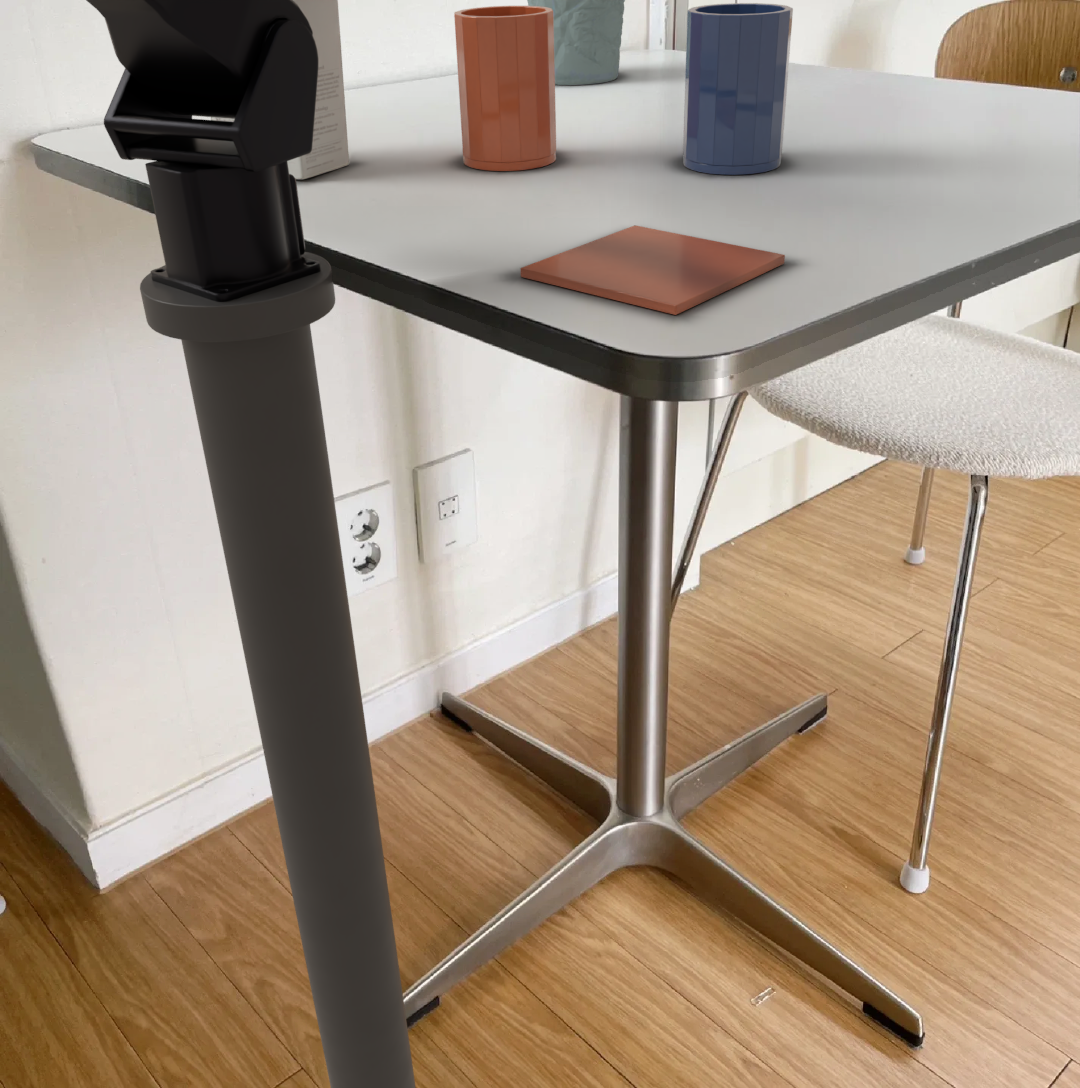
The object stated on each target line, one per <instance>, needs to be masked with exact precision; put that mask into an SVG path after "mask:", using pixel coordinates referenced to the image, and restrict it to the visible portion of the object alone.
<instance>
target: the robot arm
mask: <svg viewBox="0 0 1080 1088" xmlns="http://www.w3.org/2000/svg"><path fill="white" fill-rule="evenodd" d="M85 1H86V2H87V3H88V4H90V5H91V6H92V7H93V8H95V9H96V11H98V12H99V14H100V15H101V16H102V17H103V18H104V21H105V23H106V28H107V31H108V35H109V37H110V40H111V44H112V47H113V51H114V54H115V56H116V58H117V59H118V62H119V63H120V64H121V65H122V66H123V68H124V70H123V72H122V75H121V77H120V80H119V82H118V84H117V87H116V88H115V92H114V94H113V97H112V98H111V101H110V104H109V105H108V108H107V110H106V112H105V115H104V118H103V125H104V129H105V130H106V132H107V134H108V136H109V138H110V140H111V142H112V144H113V147H114V148H115V150H116V152H117V154H118V156H119V158H120V159H121V160H126V161H133V160H145V161H150V162H146V163H145V164H144V165H145V170H146V174H147V180H148V185H149V189H150V194H151V200H152V205H153V210H154V214H155V220H156V225H157V230H158V234H159V240H160V245H161V250H162V255H163V260H164V265H166V266H164V265H163V266H164V267H162V266H160V267H161V268H160V267H157V268H153V269H152V270H151V271H150V273H151V277H152V280H153V281H155V282H158V283H161V284H164V285H167V286H171V287H174V288H177V289H180V290H183V291H186V292H189V293H192V294H195V295H198V296H201V297H204V298H207V299H210V300H213V301H216V302H228V301H231V300H234V299H238V298H241V297H244V296H247V295H250V294H253V293H256V292H259V291H262V290H265V289H268V288H272V287H275V286H278V285H281V284H284V283H287V282H290V281H293V280H296V279H299V278H302V277H306V276H309V275H312V274H315V273H318V272H320V271H321V268H320V262H318V261H315V260H312V259H308V258H304V257H301V256H300V255H303V254H304V253H305V252H306V242H305V236H304V227H303V221H302V214H301V207H300V200H299V192H298V191H299V190H298V185H297V179H296V178H295V177H294V176H293V175H291V174H289V169H288V162H287V161H289V160H292V159H295V158H297V157H300V156H303V155H306V154H309V153H310V152H311V151H312V143H313V130H314V117H315V105H316V92H317V79H318V51H317V47H316V43H315V40H314V38H313V36H312V35H313V31H312V29H311V27H310V24H309V22H308V20H307V18H306V17H305V15H304V14H303V12H302V11H301V9H300V8H299V6H298V5H297V4H296V3H295V2H294V1H293V0H85ZM193 117H203V118H204V117H205V118H211V117H216V118H230V119H235V120H234V122H229V121H215V120H211V119H202V118H201V119H199V118H193Z"/></svg>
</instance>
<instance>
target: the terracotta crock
mask: <svg viewBox="0 0 1080 1088" xmlns="http://www.w3.org/2000/svg"><path fill="white" fill-rule="evenodd" d="M453 13H454V14H453V15H454V16H453V18H454V30H455V33H454V34H455V46H456V47H455V48H456V49H455V50H456V63H457V64H456V65H457V79H458V95H459V97H458V98H459V110H460V111H459V112H460V113H459V114H460V127H461V146H462V161H463V164H464V165H465V166H466V167H469V168H470V169H471V168H472V169H476V170H481V171H489V172H515V171H517V172H518V171H527V170H533V169H539V168H542V167H546V166H549V165H551V164H553V163H554V162H556V160H557V118H556V115H557V114H556V113H557V111H556V85H555V64H554V18H553V10H552V8H547V7H541V6H528V5H493V6H480V7H472V8H463V9H461V10H457V11H454V12H453Z"/></svg>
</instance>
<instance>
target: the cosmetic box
mask: <svg viewBox="0 0 1080 1088" xmlns="http://www.w3.org/2000/svg"><path fill="white" fill-rule="evenodd" d="M293 1H294V2H295V3H296V4H297V5H298V6H299V8H300V9H301V11H302V12H303V14H304V15H305V17H306V18H307V20H308V22H309V24H310V27H311V29H312V31H313V35H312V36H313V38H314V40H315V43H316V47H317V51H318V79H317V92H316V105H315V117H314V130H313V143H312V151H311V152H310V153H309V154H306V155H303V156H300V157H297V158H295V159H292V160H289V161H287V162H288V169H289V174H291V175H293V176H294V177H295V178H296V180H307V179H310V178H314V177H316V176H319V175H322V174H325V173H328V172H332V171H335V170H339V169H341V168H343V167H347V166H349V165H350V155H349V153H350V152H349V140H348V128H347V127H348V126H347V111H346V99H345V82H344V70H343V54H342V41H341V40H342V39H341V29H340V27H341V26H340V14H339V0H293ZM210 120H215V121H229V122H234V120H235V119H230V118H216V117H210Z"/></svg>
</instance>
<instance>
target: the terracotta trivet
mask: <svg viewBox="0 0 1080 1088" xmlns="http://www.w3.org/2000/svg"><path fill="white" fill-rule="evenodd" d="M785 258H786V254H783V253H778V252H773V251H767V250H762V249H757V248H753V247H747V246H742V245H738V244H731V243H727V242H721V241H717V240H712V239H707V238H702V237H697V236H692V235H691V236H690V235H687V234H681V233H676V232H670V231H667V230H661V229H655V228H651V227H645V226H642V225H641V226H640V225H632V226H630V227H629V226H628V227H627V228H624V229H622V230H619V231H616V232H614V233H611V234H608V235H605V236H602V237H599V238H597V239H595V240H594V239H593V240H592V241H589V242H586V243H584V244H580V245H579V246H575V247H573V248H570V249H568V250H565V251H562V252H560V253H557V254H555V255H552V256H549V257H546V258H543V259H541V260H538V261H536V262H533V263H530V264H528V265H527V264H526V265H525V266H522V267H520V269H519V270H520V277H521V278H523V279H528V280H532V281H537V282H539V283H544V284H549V285H553V286H556V287H561V288H565V289H569V290H572V291H577V292H580V293H584V294H589V295H592V296H596V297H601V298H605V299H609V300H612V301H618V302H621V303H624V304H628V305H629V304H630V305H634V306H638V307H641V308H646V309H649V310H653V311H658V312H662V313H666V314H670V315H675V316H676V315H679V314H681V313H683V312H685V311H688V310H689V309H692V308H694V307H695V306H698V305H700V304H703V303H704V302H706V301H708V300H711V299H713V298H716V297H717V296H719V295H721V294H723V293H725V292H728V291H730V290H732V289H733V288H736V287H738V286H740V285H743V284H744V283H747V282H748V281H751V280H753V279H755V278H757V277H759V276H761V275H763V274H765V273H767V272H769V271H772V270H774V269H776V268H778V267H780V266H782V265H784V264H785V260H786V259H785Z"/></svg>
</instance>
